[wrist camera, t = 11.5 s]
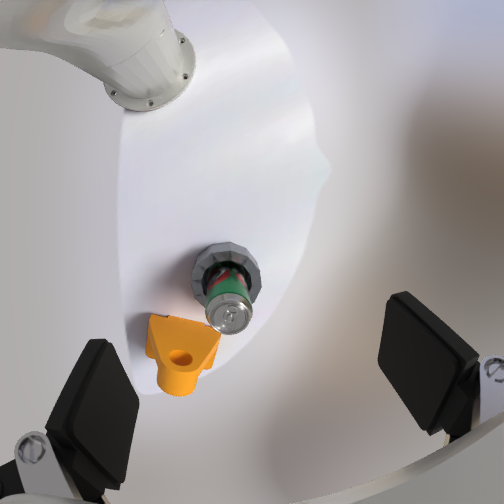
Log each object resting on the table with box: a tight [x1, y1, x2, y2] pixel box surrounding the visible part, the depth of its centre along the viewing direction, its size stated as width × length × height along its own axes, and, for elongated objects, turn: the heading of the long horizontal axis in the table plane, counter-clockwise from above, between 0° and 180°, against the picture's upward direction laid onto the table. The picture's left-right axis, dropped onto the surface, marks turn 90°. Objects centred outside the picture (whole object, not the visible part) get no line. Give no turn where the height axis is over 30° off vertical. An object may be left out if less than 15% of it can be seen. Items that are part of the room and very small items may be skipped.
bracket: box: [146, 314, 221, 396], centre depth 38 cm, size 11×7×12 cm, turn 74°
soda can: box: [205, 260, 253, 335], centre depth 35 cm, size 5×5×12 cm
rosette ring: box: [191, 242, 262, 309], centre depth 39 cm, size 9×9×4 cm
